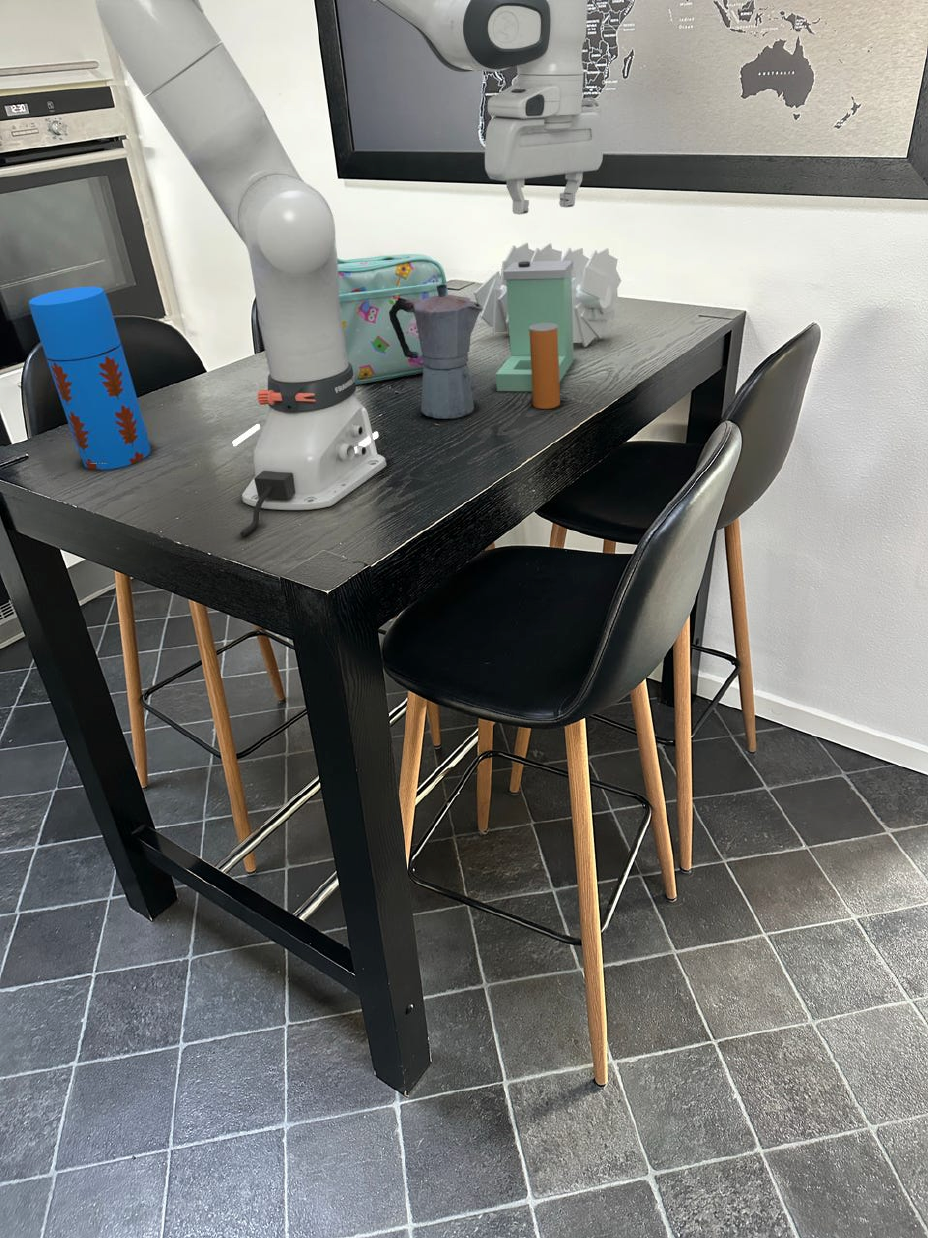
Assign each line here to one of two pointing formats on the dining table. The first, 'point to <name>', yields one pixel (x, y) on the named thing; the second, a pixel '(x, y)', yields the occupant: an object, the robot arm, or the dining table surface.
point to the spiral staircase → (589, 290)
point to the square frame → (520, 373)
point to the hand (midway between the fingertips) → (544, 210)
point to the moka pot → (442, 350)
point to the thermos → (91, 376)
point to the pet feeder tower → (540, 303)
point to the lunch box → (384, 312)
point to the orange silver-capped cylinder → (544, 365)
